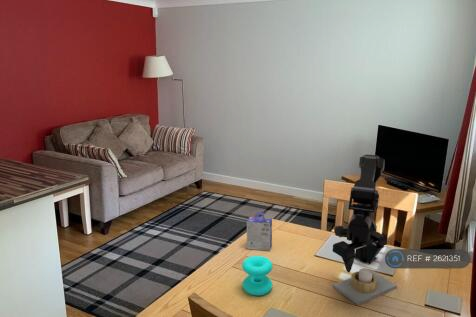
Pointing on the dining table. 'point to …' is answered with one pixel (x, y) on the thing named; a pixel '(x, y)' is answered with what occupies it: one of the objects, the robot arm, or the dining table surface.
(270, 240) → the ink cartridge box
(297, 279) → the dining table surface
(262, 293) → the donuts
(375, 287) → the ring
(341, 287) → the post plate
